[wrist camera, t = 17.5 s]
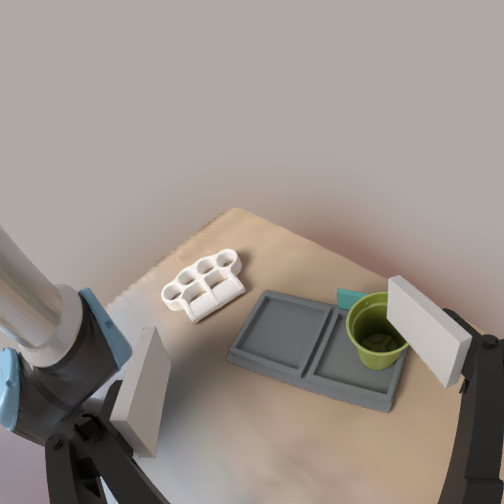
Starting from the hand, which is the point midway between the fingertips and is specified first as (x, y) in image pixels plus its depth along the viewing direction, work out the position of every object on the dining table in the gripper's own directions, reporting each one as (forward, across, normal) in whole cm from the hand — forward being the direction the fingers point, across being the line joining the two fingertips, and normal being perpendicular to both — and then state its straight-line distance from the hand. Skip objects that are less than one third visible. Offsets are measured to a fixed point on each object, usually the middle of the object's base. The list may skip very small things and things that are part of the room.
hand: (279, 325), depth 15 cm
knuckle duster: (+42, -10, -17) cm, 46 cm away
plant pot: (+17, +15, -21) cm, 31 cm away
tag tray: (+22, +8, -21) cm, 31 cm away
